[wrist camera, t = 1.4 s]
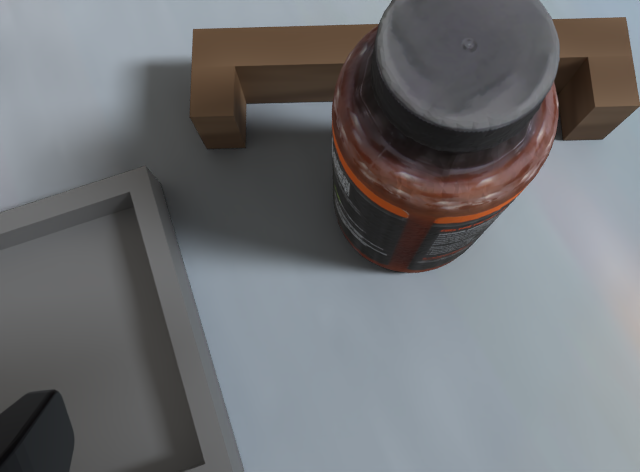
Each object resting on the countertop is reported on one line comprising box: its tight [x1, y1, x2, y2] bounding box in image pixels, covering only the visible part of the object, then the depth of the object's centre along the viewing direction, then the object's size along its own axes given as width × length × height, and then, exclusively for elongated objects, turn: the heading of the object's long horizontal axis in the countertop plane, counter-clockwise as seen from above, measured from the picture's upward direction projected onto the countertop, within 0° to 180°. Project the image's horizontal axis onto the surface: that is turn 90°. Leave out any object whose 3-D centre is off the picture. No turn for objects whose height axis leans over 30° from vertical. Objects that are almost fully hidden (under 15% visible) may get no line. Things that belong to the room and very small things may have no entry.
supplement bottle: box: [332, 0, 560, 273], centre depth 18 cm, size 6×6×11 cm
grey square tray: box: [0, 166, 244, 472], centre depth 21 cm, size 12×12×2 cm
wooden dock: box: [190, 17, 640, 149], centre depth 23 cm, size 4×16×3 cm, turn 91°
